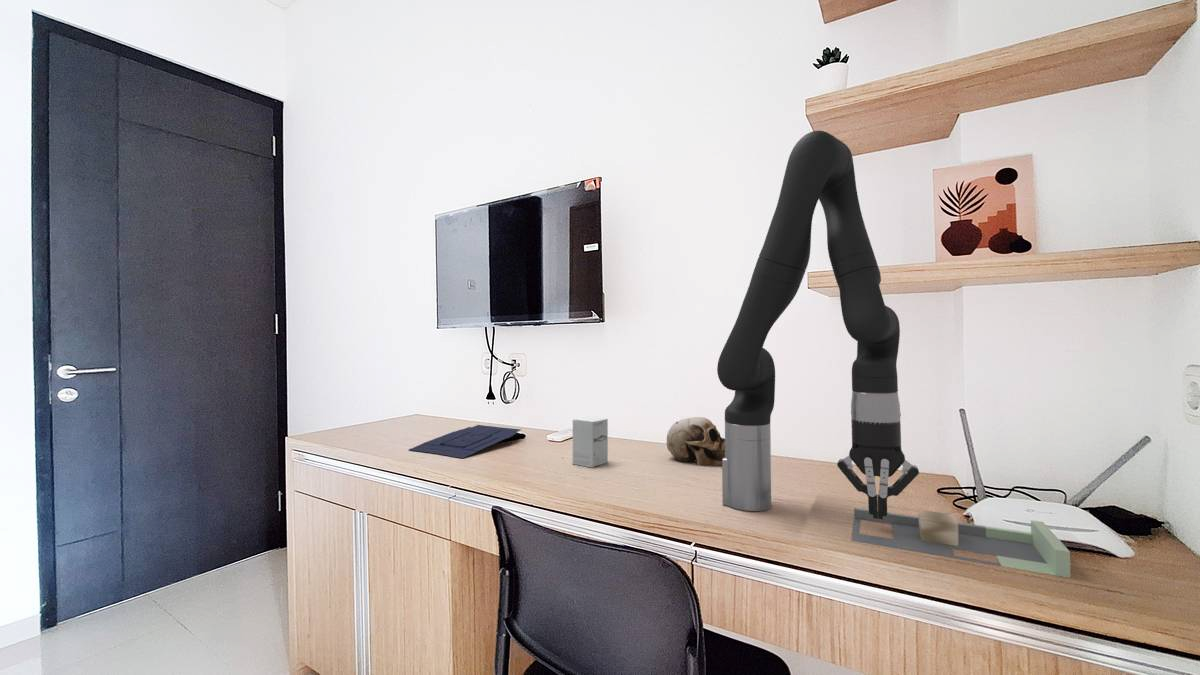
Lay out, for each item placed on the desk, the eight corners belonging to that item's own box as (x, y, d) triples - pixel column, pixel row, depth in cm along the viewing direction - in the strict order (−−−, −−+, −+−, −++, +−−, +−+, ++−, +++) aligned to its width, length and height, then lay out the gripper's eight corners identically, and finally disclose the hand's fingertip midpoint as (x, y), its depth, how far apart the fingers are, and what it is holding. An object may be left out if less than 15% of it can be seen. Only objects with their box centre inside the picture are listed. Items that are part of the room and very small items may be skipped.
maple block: (921, 540, 82) (920, 518, 82) (918, 530, 86) (918, 509, 86) (958, 546, 79) (958, 524, 79) (954, 535, 84) (953, 514, 84)
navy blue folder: (527, 437, 173) (526, 427, 173) (463, 467, 147) (462, 455, 147) (474, 431, 185) (474, 422, 185) (408, 458, 159) (407, 446, 159)
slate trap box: (851, 549, 82) (851, 519, 82) (854, 524, 93) (854, 497, 93) (1070, 588, 69) (1070, 551, 69) (1043, 553, 80) (1042, 521, 80)
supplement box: (592, 468, 136) (592, 421, 136) (571, 464, 140) (571, 419, 140) (608, 462, 141) (608, 418, 142) (588, 459, 146) (587, 416, 146)
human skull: (742, 464, 138) (736, 416, 139) (684, 475, 134) (678, 425, 134) (716, 453, 154) (710, 410, 154) (663, 463, 149) (658, 419, 150)
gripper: (831, 418, 87) (834, 518, 87) (921, 422, 81) (925, 531, 80) (835, 413, 94) (837, 506, 93) (918, 416, 87) (921, 516, 87)
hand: (878, 517), depth 87 cm, fingers closed
